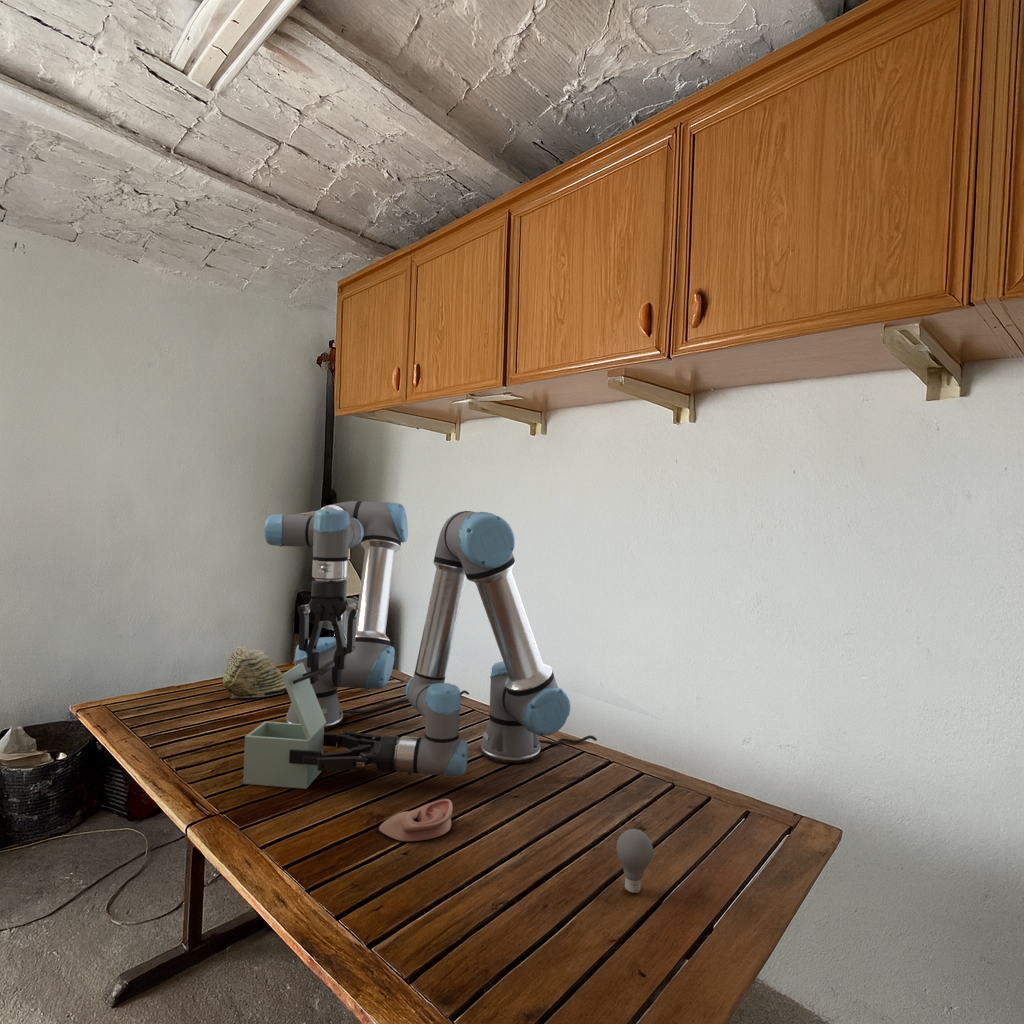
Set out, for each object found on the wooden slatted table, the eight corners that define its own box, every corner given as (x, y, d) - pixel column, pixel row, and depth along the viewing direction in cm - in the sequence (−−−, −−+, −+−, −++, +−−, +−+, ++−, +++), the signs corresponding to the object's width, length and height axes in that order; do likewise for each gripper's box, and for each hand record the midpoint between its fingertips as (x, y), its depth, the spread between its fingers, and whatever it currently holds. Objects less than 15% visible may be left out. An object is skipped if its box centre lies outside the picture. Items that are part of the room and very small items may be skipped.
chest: (243, 783, 138) (244, 736, 138) (263, 765, 148) (265, 721, 147) (306, 788, 137) (308, 741, 137) (322, 770, 147) (324, 725, 146)
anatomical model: (372, 815, 119) (396, 788, 130) (371, 836, 119) (395, 808, 130) (440, 826, 116) (458, 797, 127) (439, 847, 116) (457, 817, 127)
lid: (280, 675, 137) (317, 661, 136) (298, 664, 147) (332, 650, 146) (306, 739, 137) (342, 725, 136) (322, 723, 146) (356, 710, 146)
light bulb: (610, 879, 108) (613, 822, 108) (644, 879, 109) (647, 822, 109) (619, 902, 102) (622, 840, 102) (655, 901, 103) (658, 840, 103)
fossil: (218, 695, 195) (220, 647, 195) (278, 685, 208) (279, 640, 207) (228, 703, 189) (230, 653, 188) (289, 692, 201) (290, 645, 201)
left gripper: (283, 579, 138) (280, 685, 138) (363, 583, 137) (359, 690, 137) (297, 574, 145) (293, 675, 146) (373, 578, 144) (369, 680, 145)
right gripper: (383, 793, 129) (277, 785, 131) (408, 751, 152) (317, 744, 153) (385, 757, 129) (278, 749, 131) (409, 720, 152) (318, 713, 153)
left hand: (325, 682), depth 142 cm, fingers open, 5 cm apart
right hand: (299, 747), depth 142 cm, fingers closed on chest, 10 cm apart
